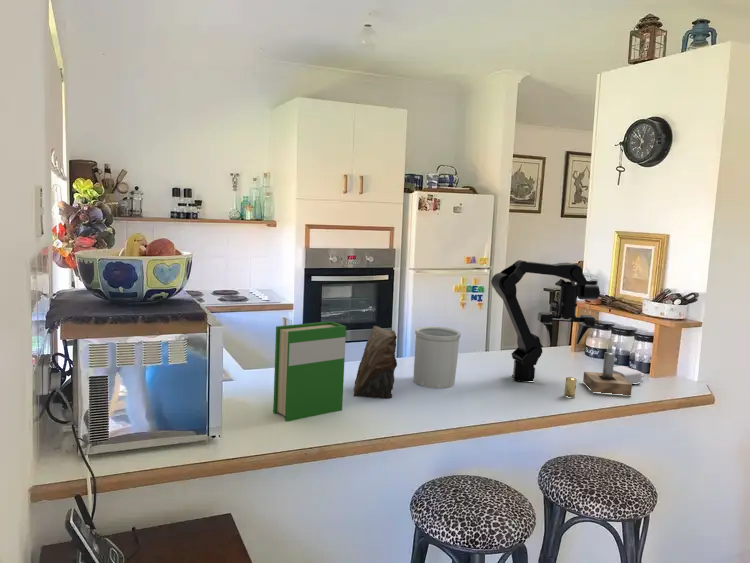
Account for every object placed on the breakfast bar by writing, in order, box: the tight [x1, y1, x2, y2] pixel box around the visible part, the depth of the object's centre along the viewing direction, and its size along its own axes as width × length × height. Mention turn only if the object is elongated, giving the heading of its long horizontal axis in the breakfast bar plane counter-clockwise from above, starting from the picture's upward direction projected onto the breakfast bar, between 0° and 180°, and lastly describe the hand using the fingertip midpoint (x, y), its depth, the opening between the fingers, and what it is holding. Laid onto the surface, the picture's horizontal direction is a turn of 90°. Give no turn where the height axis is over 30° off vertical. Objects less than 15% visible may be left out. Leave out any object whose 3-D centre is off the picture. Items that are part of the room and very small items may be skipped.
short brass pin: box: [563, 376, 577, 397], centre depth 189 cm, size 3×3×6 cm
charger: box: [613, 365, 645, 384], centre depth 211 cm, size 5×9×15 cm
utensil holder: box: [413, 325, 461, 389], centre depth 195 cm, size 15×15×18 cm
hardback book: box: [272, 320, 347, 423], centre depth 161 cm, size 18×7×24 cm, turn 128°
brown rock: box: [353, 325, 398, 400], centre depth 181 cm, size 13×13×20 cm
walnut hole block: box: [582, 371, 633, 396], centre depth 199 cm, size 12×12×4 cm
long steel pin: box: [601, 351, 616, 380], centre depth 198 cm, size 3×3×12 cm
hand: (563, 343), depth 207 cm, fingers open, 9 cm apart
